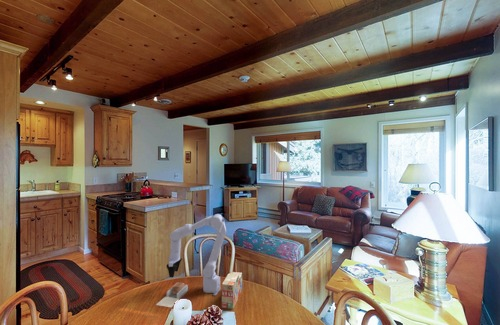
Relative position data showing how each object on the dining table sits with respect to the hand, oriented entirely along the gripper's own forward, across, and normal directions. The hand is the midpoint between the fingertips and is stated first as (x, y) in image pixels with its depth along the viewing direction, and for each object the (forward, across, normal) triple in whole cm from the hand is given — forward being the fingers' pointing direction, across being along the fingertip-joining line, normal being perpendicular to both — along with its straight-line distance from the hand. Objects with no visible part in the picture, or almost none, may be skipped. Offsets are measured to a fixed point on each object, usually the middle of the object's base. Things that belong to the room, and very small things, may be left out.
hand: (173, 274), depth 132 cm
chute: (+9, +8, +3) cm, 13 cm away
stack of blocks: (+8, +7, +36) cm, 37 cm away
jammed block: (+8, +3, +4) cm, 10 cm away
